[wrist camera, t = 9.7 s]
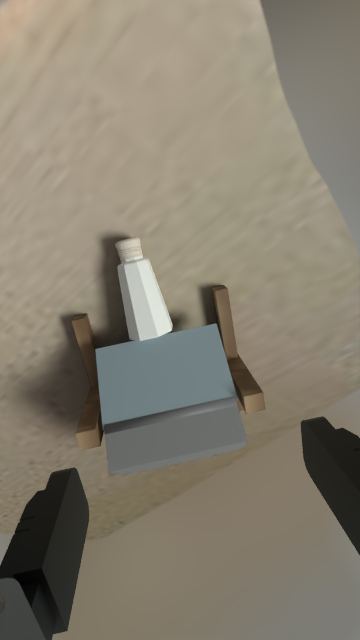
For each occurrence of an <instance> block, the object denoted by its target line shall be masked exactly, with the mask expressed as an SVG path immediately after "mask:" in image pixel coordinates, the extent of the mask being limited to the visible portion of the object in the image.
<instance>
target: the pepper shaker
mask: <svg viewBox="0 0 360 640" xmlns="http://www.w3.org/2000/svg"><path fill="white" fill-rule="evenodd" d="M115 247H116V248H117V250H118V253H119V254H118V255H119V257H120V261H121V264H120V265H118V267H117V269H118V276H119V282H120V288H121V293H122V299H123V305H124V310H125V316H126V322H127V328H128V333H129V339H130V340H135V341H143V340H147V339H152V338H156V337H159V336H161V335H164V334H166V333H168V332H170V331H171V330H172V327H173V324H172V322H171V319H170V316H169V313H168V311H167V308H166V305H165V302H164V300H163V297H162V294H161V291H160V289H159V286H158V283H157V280H156V278H155V275H154V272H153V269H152V267H151V264H150V262H149V259H147V258H143V254H142V250H141V249H142V248H141V246H140V239H139V238H137V237H134V238H129V239H125V240H122V241H118V242H117V243H116V244H115Z"/></svg>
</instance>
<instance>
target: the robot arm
mask: <svg viewBox="0 0 360 640" xmlns="http://www.w3.org/2000/svg"><path fill="white" fill-rule="evenodd" d="M301 434H302V446H303V457H304V462H305V466H306V468H307V471H308V473H309V475H310V477H311V478H312V480H313V482H314V483H315V485H316V486H317V488H318V489H319V491H320V493H321V494H322V496H323V497H324V499H325V501H326V502H327V504H328V505H329V507H330V509H331V510H332V512H333V513H334V515H335V516H336V518H337V520H338V521H339V523H340V525H341V526H342V528H343V529H344V531H345V532H346V534H347V535H348V537H349V539H350V540H351V542H352V544H353V545H354V546H355V548H356V550H357V551H358V553H359V555H360V438H359V437H358V436H357V435H355V434H353V433H351V432H349V431H348V430H346V429H344V428H340V429H335V428H334V427H333V426H332V425H331V424H330V423H329V422H328V420H327V419H326V418H324V417H317V418H313V419H308V420H303V421H302V422H301ZM88 522H89V507H88V502H87V499H86V496H85V492H84V489H83V486H82V483H81V480H80V477H79V474H78V471H77V469H76V468H70V469H65V470H60V471H55V472H52V474H51V475H50V478H49V481H48V483H47V486H46V489H45V490H42V491H37V493H36V494H35V495H34V496H33V497H32V499H31V500H30V501H29V502H28V503H27V505H26V507H25V509H24V511H23V514H22V516H21V518H20V522H19V523H18V525H17V528H16V530H15V534H14V535H13V537H12V539H11V542H10V544H9V547H8V549H7V551H6V554H5V556H4V558H3V561H2V563H1V565H0V640H52V636H53V634H56V633H61V632H65V631H67V630H68V625H69V620H70V614H71V609H72V604H73V598H74V594H75V589H76V584H77V579H78V573H79V568H80V563H81V558H82V553H83V548H84V543H85V538H86V533H87V528H88Z"/></svg>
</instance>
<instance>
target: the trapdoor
mask: <svg viewBox="0 0 360 640" xmlns="http://www.w3.org/2000/svg"><path fill="white" fill-rule="evenodd" d="M95 351H96V362H97V372H98V383H99V394H100V405H101V416H102V427H103V430H104V431H105V438H106V448H107V459H108V470H109V472H111V473H115V474H119V475H123V476H124V475H128V474H133V473H137V472H141V471H146V470H150V469H155V468H159V467H164V466H168V465H173V464H177V463H182V462H186V461H191V460H195V459H200V458H204V457H209V456H213V455H217V454H222V453H226V452H231V451H235V450H240V449H242V448H243V446H244V445H245V444H246V442H247V438H246V434H245V431H244V427H243V423H242V420H241V416H240V413H239V409H238V405H237V402H238V398H237V395H236V391H235V388H234V384H233V380H232V377H231V373H230V370H229V366H228V363H227V359H226V356H225V352H224V349H223V345H222V341H221V338H220V334H219V331H218V327H217V324H211V325H206V326H201V327H197V328H192V329H187V330H183V331H178V332H173V333H168V334H164V335H161V336H159V337H156V338H152V339H147V340H143V341H131V342H126V343H121V344H117V345H112V346H107V347H103V348H98V349H95Z"/></svg>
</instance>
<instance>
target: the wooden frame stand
mask: <svg viewBox="0 0 360 640" xmlns="http://www.w3.org/2000/svg"><path fill="white" fill-rule="evenodd" d="M212 291H213V297H214V303H215V309H216V315H217V321H218V327H219V333H220V338H221V341H222V345H223V349H224V352H225V356H226V359H227V363H228V366H229V370H230V373H231V377H232V380H233V384H234V388H235V391H236V395H237V398H238V402H237V405H238V409H239V411H241V410H245V412H246V414H249V413H253V412H258V411H262V410H265V402H264V395H263V392H262V390H261V388H260V387H259V385H258V384H257V382H256V381H255V379H254V378H253V376H252V375H251V373H250V372H249V370H248V369H247V367H246V366H245V364H244V363H243V361H242V360H241V358H240V357H239V355H238V354H237V347H236V341H235V334H234V328H233V321H232V315H231V308H230V302H229V295H228V289H227V288H226V287H225V286H224V285H222V286H218V287H213V288H212ZM72 325H73V328H74V331H75V335H76V338H77V341H78V345H79V348H80V351H81V354H82V358H83V361H84V364H85V368H86V371H87V374H88V378H89V381H90V384H91V389H90V391H89V394H88V397H87V400H86V403H85V406H84V409H83V412H82V415H81V418H80V421H79V424H78V427H77V430H76V433H75V435H76V438H77V441H78V444H79V447H80V450H85V449H90V448H95V447H99V446H101V441H102V437H103V432H104V430H103V427H102V416H101V405H100V394H99V383H98V372H97V362H96V351H95V349H97V346H96V343H95V339H94V336H93V332H92V329H91V325H90V322H89V318H88V315H87V314H84V315H79V316H75V317H74V318H73V320H72Z"/></svg>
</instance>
